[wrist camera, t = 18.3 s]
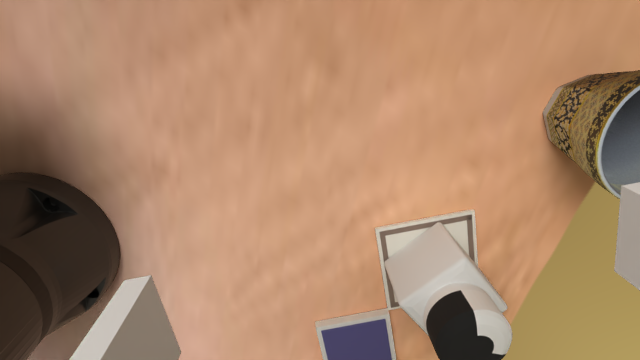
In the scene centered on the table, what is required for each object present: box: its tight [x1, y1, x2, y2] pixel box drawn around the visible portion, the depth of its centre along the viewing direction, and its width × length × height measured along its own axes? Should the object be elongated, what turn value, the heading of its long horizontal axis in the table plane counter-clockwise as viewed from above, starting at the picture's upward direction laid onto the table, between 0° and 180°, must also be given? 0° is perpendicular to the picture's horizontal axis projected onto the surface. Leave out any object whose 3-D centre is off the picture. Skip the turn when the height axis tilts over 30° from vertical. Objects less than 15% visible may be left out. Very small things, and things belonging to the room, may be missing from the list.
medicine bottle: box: [384, 222, 512, 360], centre depth 37 cm, size 7×7×12 cm
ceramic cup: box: [543, 70, 640, 199], centre depth 33 cm, size 13×10×10 cm
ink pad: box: [315, 308, 396, 360], centre depth 45 cm, size 8×8×1 cm
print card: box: [375, 209, 478, 310], centre depth 42 cm, size 10×10×1 cm
